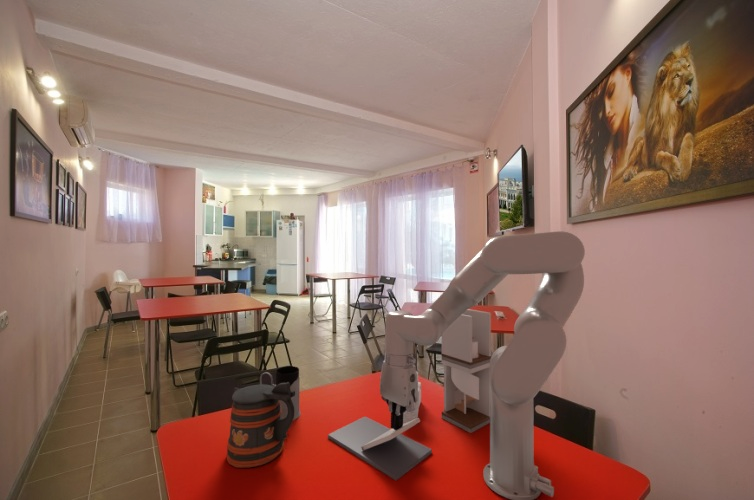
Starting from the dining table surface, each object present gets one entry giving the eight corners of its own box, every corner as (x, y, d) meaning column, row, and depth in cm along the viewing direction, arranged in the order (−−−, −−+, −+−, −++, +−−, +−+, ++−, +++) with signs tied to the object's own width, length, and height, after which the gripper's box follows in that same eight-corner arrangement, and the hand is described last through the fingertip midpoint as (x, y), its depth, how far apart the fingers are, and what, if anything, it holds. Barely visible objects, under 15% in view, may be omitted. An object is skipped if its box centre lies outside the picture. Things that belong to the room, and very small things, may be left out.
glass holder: (294, 422, 104) (294, 375, 104) (253, 419, 106) (253, 372, 106) (304, 409, 113) (304, 366, 113) (266, 406, 115) (266, 364, 115)
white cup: (419, 414, 110) (419, 384, 110) (419, 426, 102) (419, 394, 102) (395, 413, 110) (395, 383, 111) (394, 425, 103) (394, 393, 103)
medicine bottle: (397, 407, 114) (397, 373, 115) (402, 399, 121) (402, 366, 121) (417, 410, 112) (417, 375, 112) (421, 401, 119) (421, 368, 119)
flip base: (431, 453, 88) (431, 449, 88) (395, 480, 77) (396, 476, 77) (364, 419, 106) (364, 416, 106) (328, 438, 95) (328, 434, 95)
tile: (390, 429, 97) (391, 433, 96) (360, 446, 88) (362, 451, 87) (418, 417, 90) (420, 421, 89) (389, 435, 81) (391, 439, 80)
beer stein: (307, 442, 93) (307, 372, 93) (281, 476, 79) (282, 393, 79) (248, 434, 97) (249, 366, 98) (213, 464, 83) (214, 386, 83)
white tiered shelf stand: (441, 418, 107) (441, 311, 108) (462, 408, 114) (461, 308, 114) (470, 433, 98) (470, 316, 99) (491, 422, 105) (490, 312, 105)
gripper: (430, 362, 84) (428, 433, 84) (387, 349, 95) (385, 412, 94) (412, 369, 79) (410, 445, 79) (368, 354, 89) (367, 421, 89)
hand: (396, 427), depth 87 cm, fingers closed
